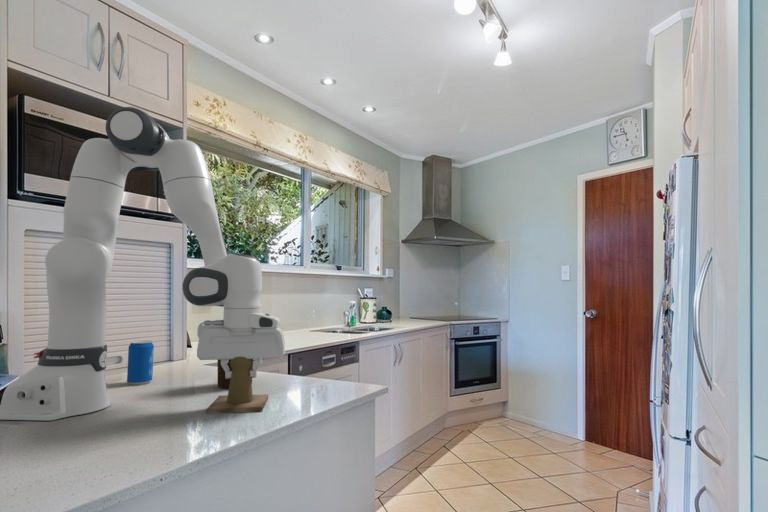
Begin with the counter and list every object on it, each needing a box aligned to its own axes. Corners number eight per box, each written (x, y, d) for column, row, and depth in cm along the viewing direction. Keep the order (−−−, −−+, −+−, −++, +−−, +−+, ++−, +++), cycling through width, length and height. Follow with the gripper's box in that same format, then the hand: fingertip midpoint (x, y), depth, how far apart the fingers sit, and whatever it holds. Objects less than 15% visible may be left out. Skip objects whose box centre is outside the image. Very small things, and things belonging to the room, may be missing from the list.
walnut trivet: (206, 413, 98) (207, 408, 98) (219, 399, 110) (219, 395, 110) (261, 411, 100) (262, 407, 100) (268, 398, 112) (268, 394, 112)
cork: (244, 405, 102) (246, 356, 102) (221, 403, 103) (223, 355, 104) (257, 398, 107) (259, 353, 108) (235, 397, 109) (237, 352, 110)
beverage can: (144, 385, 125) (146, 343, 126) (121, 385, 125) (124, 342, 126) (156, 380, 131) (158, 340, 132) (135, 380, 132) (136, 340, 132)
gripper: (194, 321, 102) (192, 382, 101) (283, 320, 105) (283, 379, 104) (201, 319, 108) (199, 376, 107) (286, 318, 111) (285, 373, 110)
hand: (241, 377), depth 106 cm, fingers closed on cork, 4 cm apart
